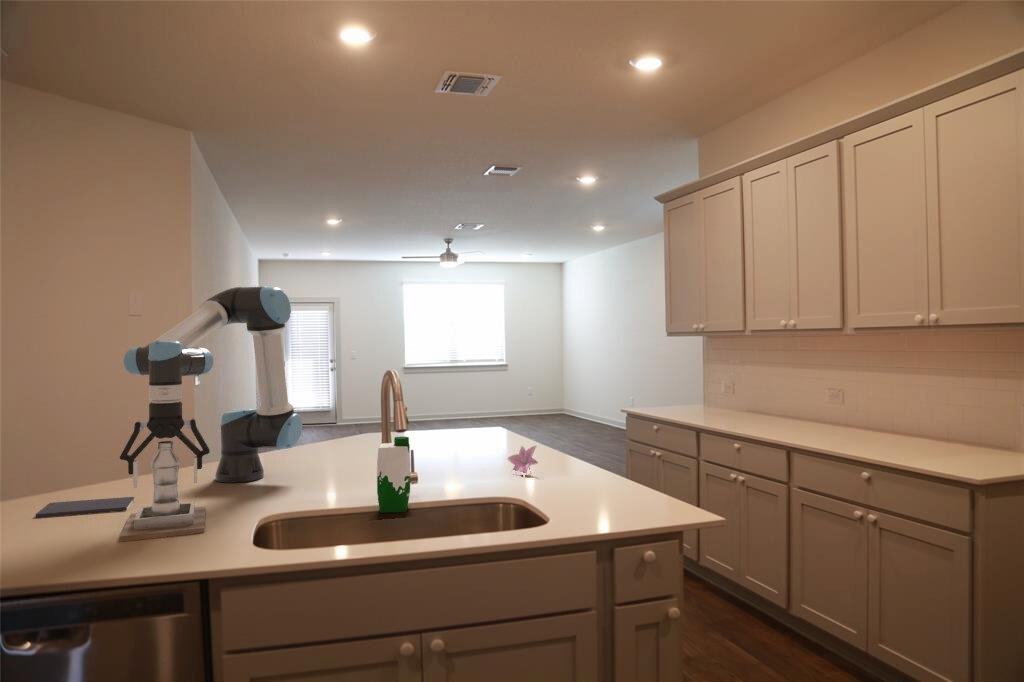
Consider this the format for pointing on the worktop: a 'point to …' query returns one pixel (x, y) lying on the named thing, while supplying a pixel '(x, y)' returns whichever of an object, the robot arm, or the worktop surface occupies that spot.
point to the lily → (523, 459)
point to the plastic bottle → (165, 480)
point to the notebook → (85, 507)
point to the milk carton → (393, 475)
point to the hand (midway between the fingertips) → (166, 484)
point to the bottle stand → (164, 523)
